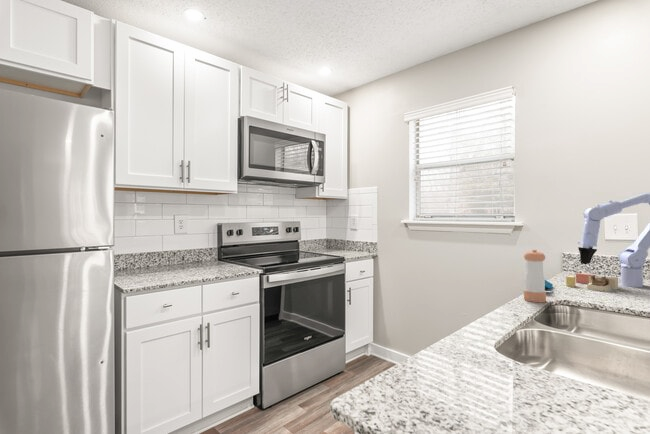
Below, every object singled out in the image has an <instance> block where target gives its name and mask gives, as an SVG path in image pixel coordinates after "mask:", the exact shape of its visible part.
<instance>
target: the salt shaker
mask: <svg viewBox="0 0 650 434" xmlns="http://www.w3.org/2000/svg"><path fill="white" fill-rule="evenodd" d="M523 258H524V260H526V262H525V264H526V266H525V267H526V270H525V271H526V272H525V277H524V290H523V300H524V299H525V300H524V301H526V300H527V302H531V301H532V302H531V303H545V301H546V302H547V292H546V290H545V289H546V288H545V280H546V279H545V276H544V275H545V274H544V261H545V259H546V255H545V254H544V253H543V252H540V251H538V250H537V249H532V250H531V251H528V252H525V253H524V255H523Z"/></svg>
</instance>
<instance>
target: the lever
mask: <svg viewBox="0 0 650 434" xmlns="http://www.w3.org/2000/svg"><path fill="white" fill-rule="evenodd" d="M544 280H545V289H551V288H553V287H554V285H553V283H551V282H550V281H548V280H547V279H544Z"/></svg>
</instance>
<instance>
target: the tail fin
mask: <svg viewBox="0 0 650 434" xmlns="http://www.w3.org/2000/svg"><path fill="white" fill-rule="evenodd" d="M565 279H566V280H565V282H566V283H565V284H566V285H565V286H566V287H569V288H571V287H572V288H575V287H576V275H575V276H574V275H568V276H566V278H565Z"/></svg>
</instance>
